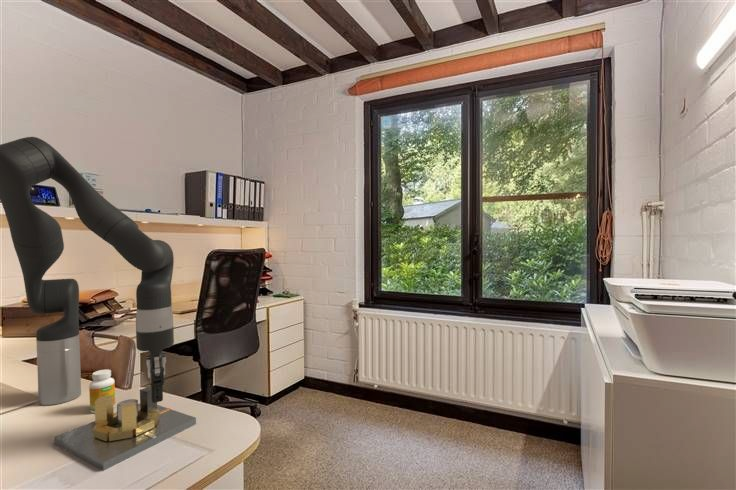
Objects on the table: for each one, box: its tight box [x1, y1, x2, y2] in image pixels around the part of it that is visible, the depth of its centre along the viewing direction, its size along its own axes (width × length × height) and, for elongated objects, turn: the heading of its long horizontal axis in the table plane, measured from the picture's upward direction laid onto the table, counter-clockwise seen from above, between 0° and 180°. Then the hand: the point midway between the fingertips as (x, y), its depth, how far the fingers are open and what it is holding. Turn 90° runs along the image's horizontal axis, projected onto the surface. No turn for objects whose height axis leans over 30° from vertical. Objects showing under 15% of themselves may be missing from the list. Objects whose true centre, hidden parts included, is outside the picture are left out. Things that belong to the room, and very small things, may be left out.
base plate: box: [53, 398, 197, 471], centre depth 85 cm, size 20×20×7 cm
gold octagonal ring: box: [93, 385, 160, 441], centre depth 86 cm, size 12×12×7 cm
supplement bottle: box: [88, 368, 116, 414], centre depth 98 cm, size 5×5×10 cm
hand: (157, 400), depth 87 cm, fingers closed
